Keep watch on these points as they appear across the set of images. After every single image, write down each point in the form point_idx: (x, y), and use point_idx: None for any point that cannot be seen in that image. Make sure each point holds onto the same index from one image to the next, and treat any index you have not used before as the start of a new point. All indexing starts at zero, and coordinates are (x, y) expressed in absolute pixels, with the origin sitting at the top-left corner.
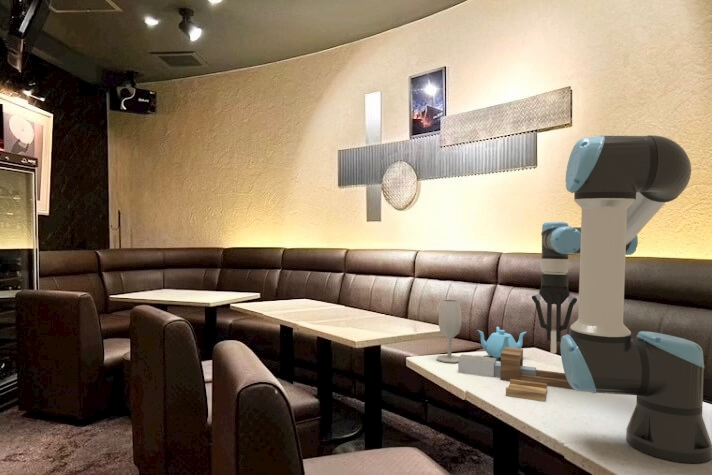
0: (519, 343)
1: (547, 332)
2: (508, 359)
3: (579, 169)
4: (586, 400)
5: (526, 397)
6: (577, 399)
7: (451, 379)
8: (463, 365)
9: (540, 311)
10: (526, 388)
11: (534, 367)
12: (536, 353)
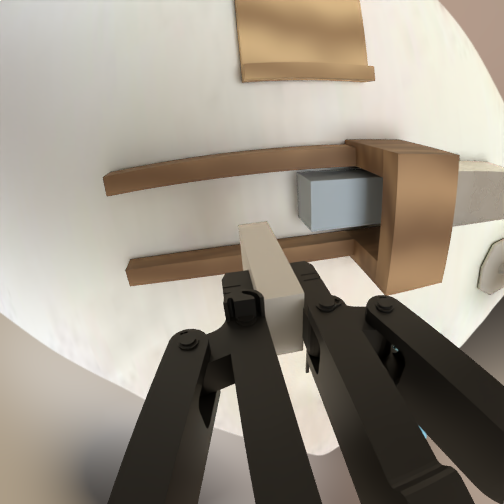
0: None
1: (325, 291)
2: (422, 150)
3: None
4: (107, 60)
5: None
6: (134, 50)
7: (488, 88)
8: (494, 166)
9: (473, 393)
10: (308, 32)
11: (317, 228)
12: (311, 438)
